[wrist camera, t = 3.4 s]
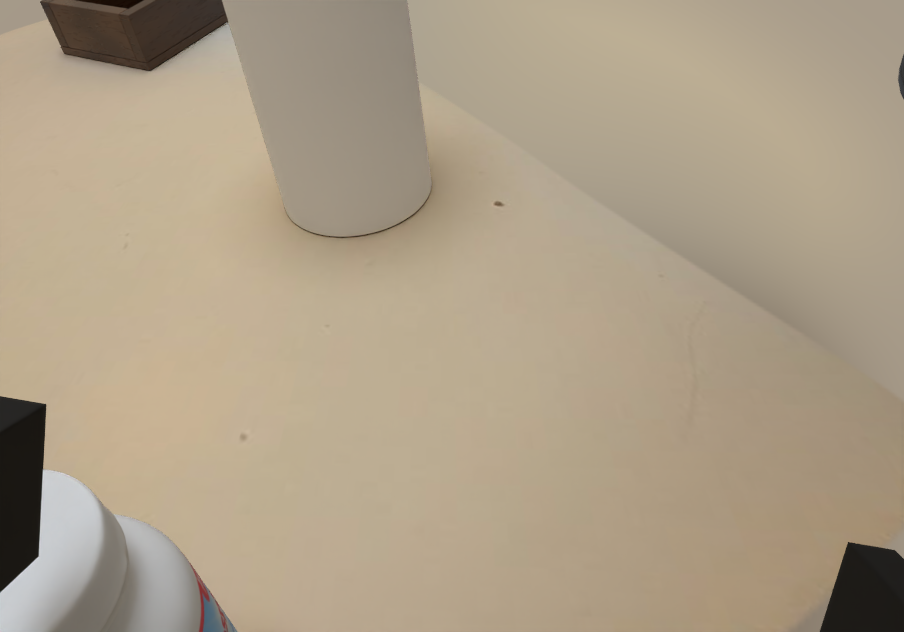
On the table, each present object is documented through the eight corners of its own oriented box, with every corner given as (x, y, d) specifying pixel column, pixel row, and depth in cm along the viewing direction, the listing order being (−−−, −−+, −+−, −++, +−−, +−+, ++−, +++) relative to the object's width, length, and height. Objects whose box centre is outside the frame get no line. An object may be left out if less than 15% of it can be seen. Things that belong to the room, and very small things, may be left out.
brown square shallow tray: (232, 18, 62) (217, -35, 59) (149, 70, 56) (128, 15, 53) (149, 5, 66) (130, -45, 63) (63, 53, 60) (39, 1, 57)
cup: (370, 135, 47) (312, -169, 35) (462, 184, 42) (428, -148, 31) (256, 196, 43) (151, -120, 32) (343, 258, 38) (256, -88, 27)
